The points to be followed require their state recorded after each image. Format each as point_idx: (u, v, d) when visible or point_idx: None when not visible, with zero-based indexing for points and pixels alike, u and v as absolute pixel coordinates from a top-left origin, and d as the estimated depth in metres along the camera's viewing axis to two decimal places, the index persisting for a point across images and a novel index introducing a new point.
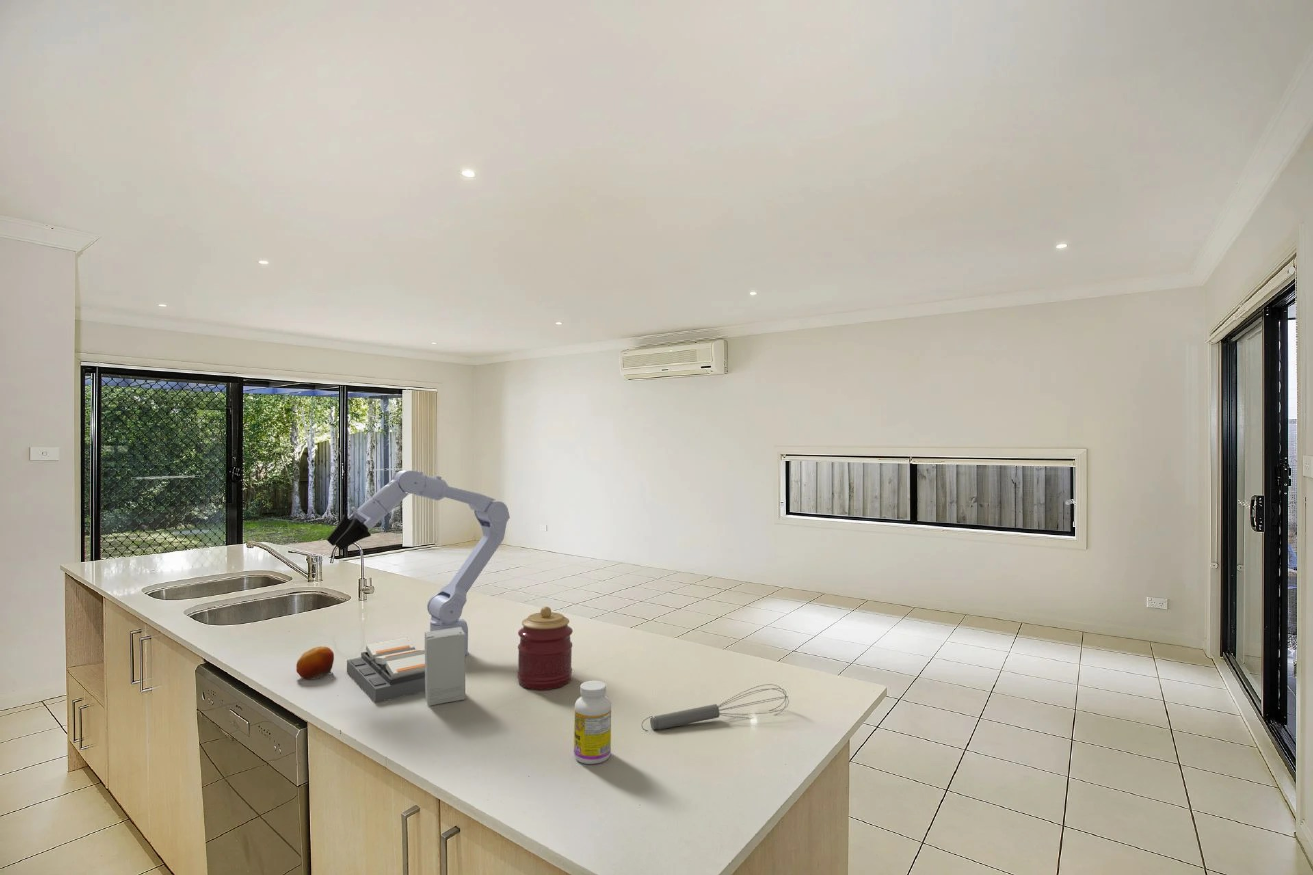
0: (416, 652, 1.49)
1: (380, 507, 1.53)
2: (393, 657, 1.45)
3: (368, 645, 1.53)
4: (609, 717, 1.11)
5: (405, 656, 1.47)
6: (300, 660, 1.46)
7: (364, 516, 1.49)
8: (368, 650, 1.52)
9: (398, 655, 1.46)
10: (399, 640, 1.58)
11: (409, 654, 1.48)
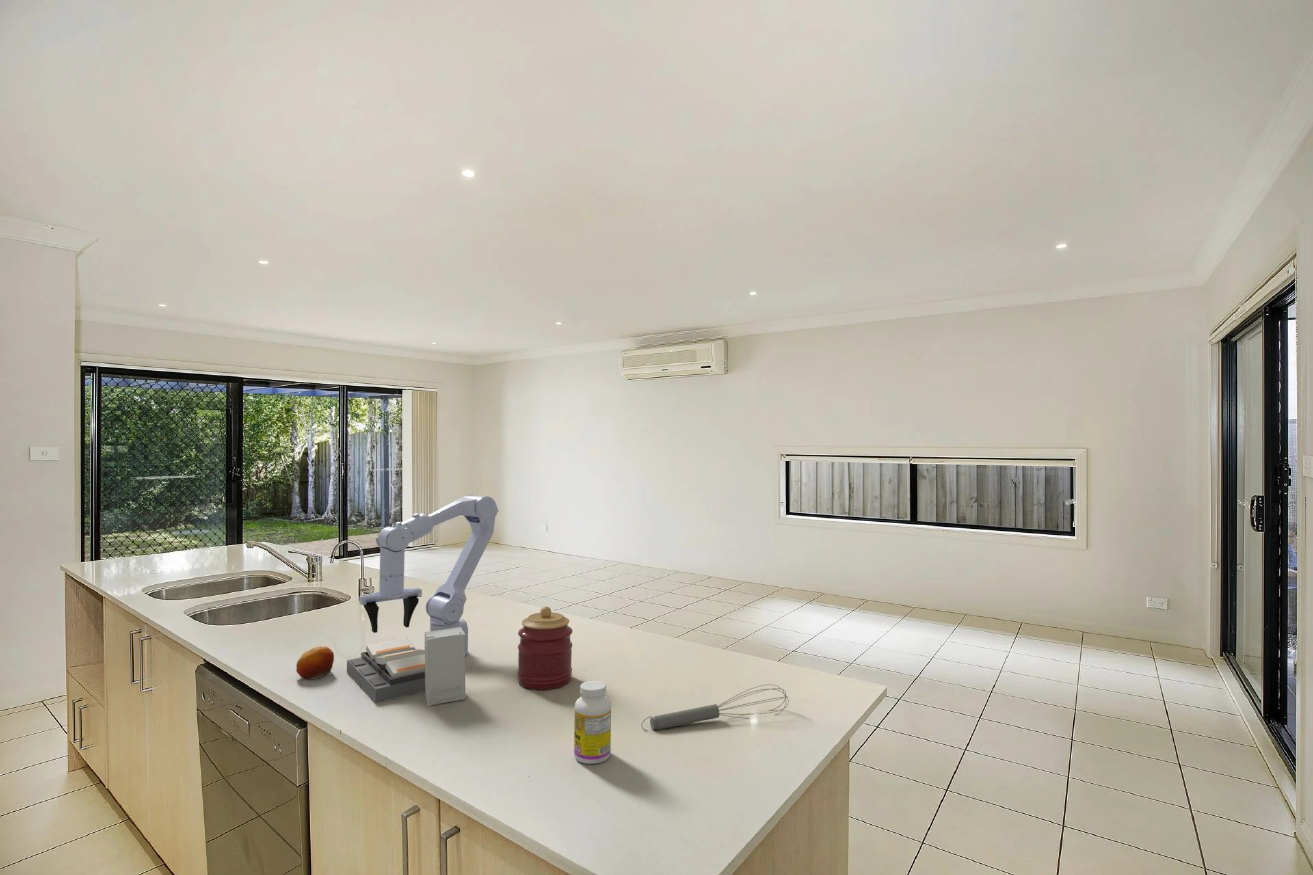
0: (416, 652, 1.49)
1: None
2: (393, 657, 1.45)
3: (368, 645, 1.53)
4: (609, 717, 1.11)
5: (405, 656, 1.47)
6: (300, 660, 1.46)
7: (411, 592, 1.57)
8: (368, 650, 1.52)
9: (398, 655, 1.46)
10: (399, 640, 1.58)
11: (409, 654, 1.48)
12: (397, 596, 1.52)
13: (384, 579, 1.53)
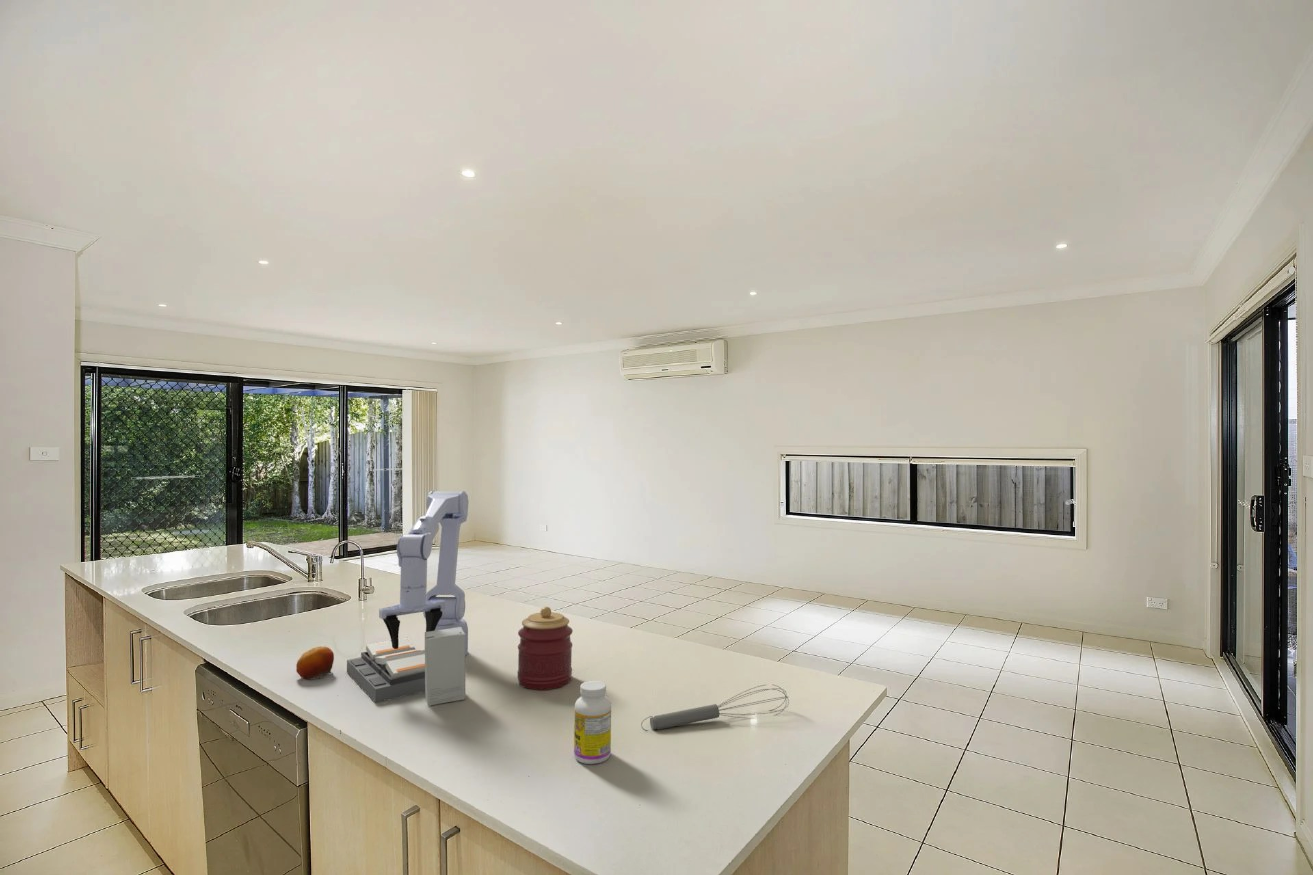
0: (416, 652, 1.49)
1: None
2: (393, 657, 1.45)
3: (368, 645, 1.53)
4: (609, 717, 1.11)
5: (405, 656, 1.47)
6: (300, 660, 1.46)
7: (435, 604, 1.45)
8: (368, 650, 1.52)
9: (398, 655, 1.46)
10: (399, 640, 1.58)
11: (409, 654, 1.48)
12: (420, 609, 1.40)
13: (405, 591, 1.40)
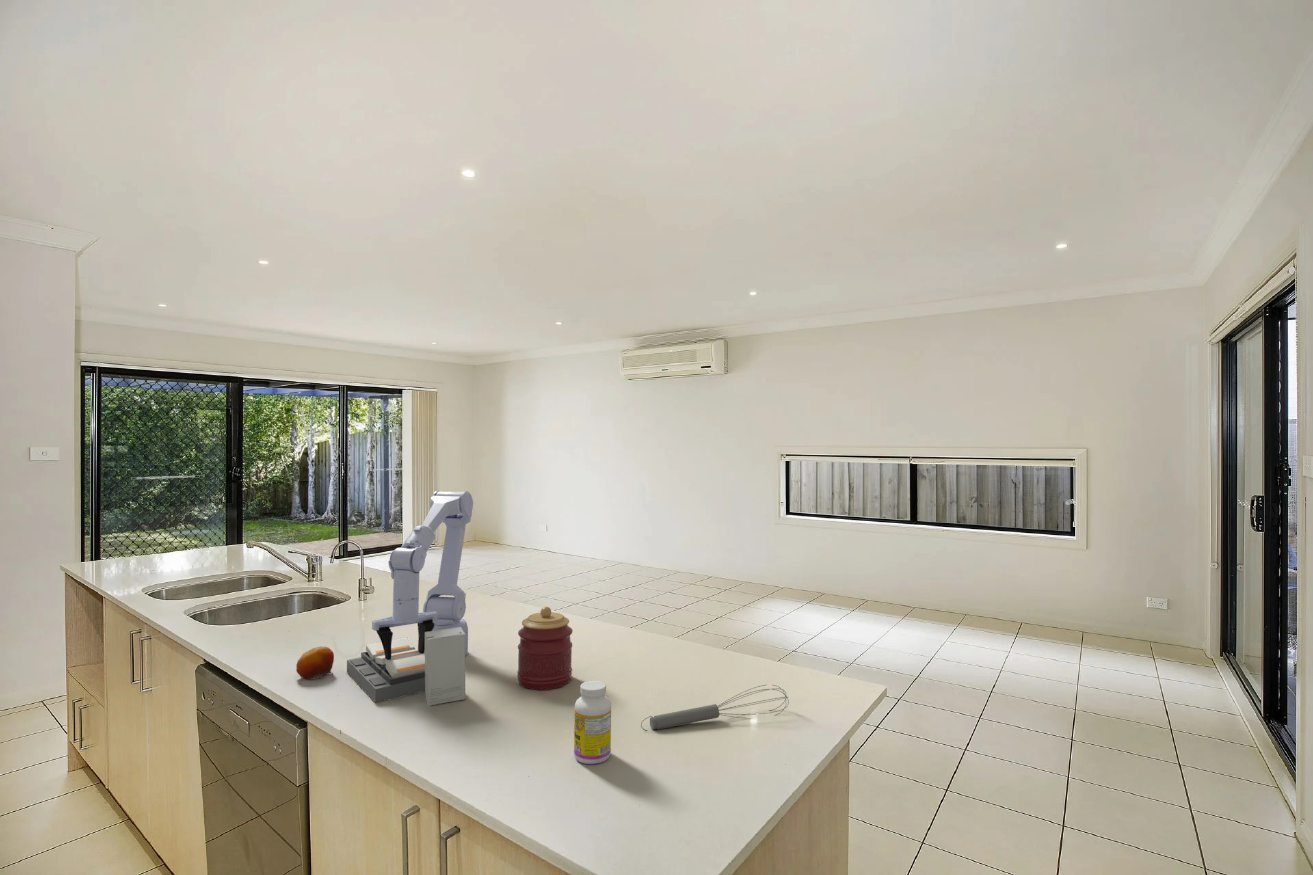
0: (416, 652, 1.49)
1: None
2: (393, 657, 1.45)
3: (368, 645, 1.53)
4: (609, 717, 1.11)
5: (405, 656, 1.47)
6: (300, 660, 1.46)
7: (426, 616, 1.48)
8: (368, 650, 1.52)
9: (398, 655, 1.46)
10: (399, 640, 1.58)
11: (409, 654, 1.48)
12: (412, 621, 1.44)
13: (398, 603, 1.44)
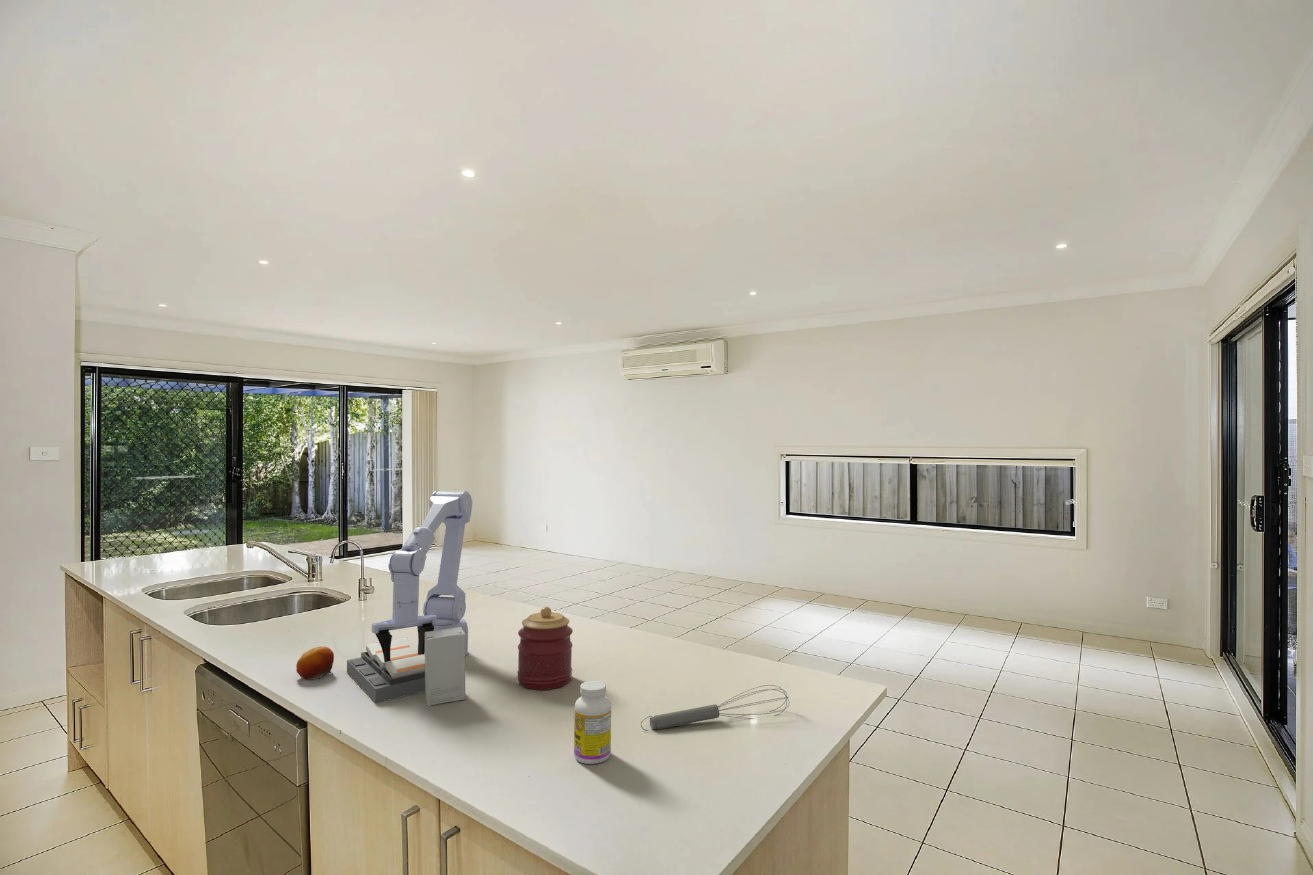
0: None
1: None
2: None
3: (368, 645, 1.53)
4: (609, 717, 1.11)
5: None
6: (300, 660, 1.46)
7: (426, 619, 1.48)
8: (368, 650, 1.52)
9: None
10: (399, 640, 1.58)
11: None
12: (411, 624, 1.44)
13: (398, 606, 1.44)
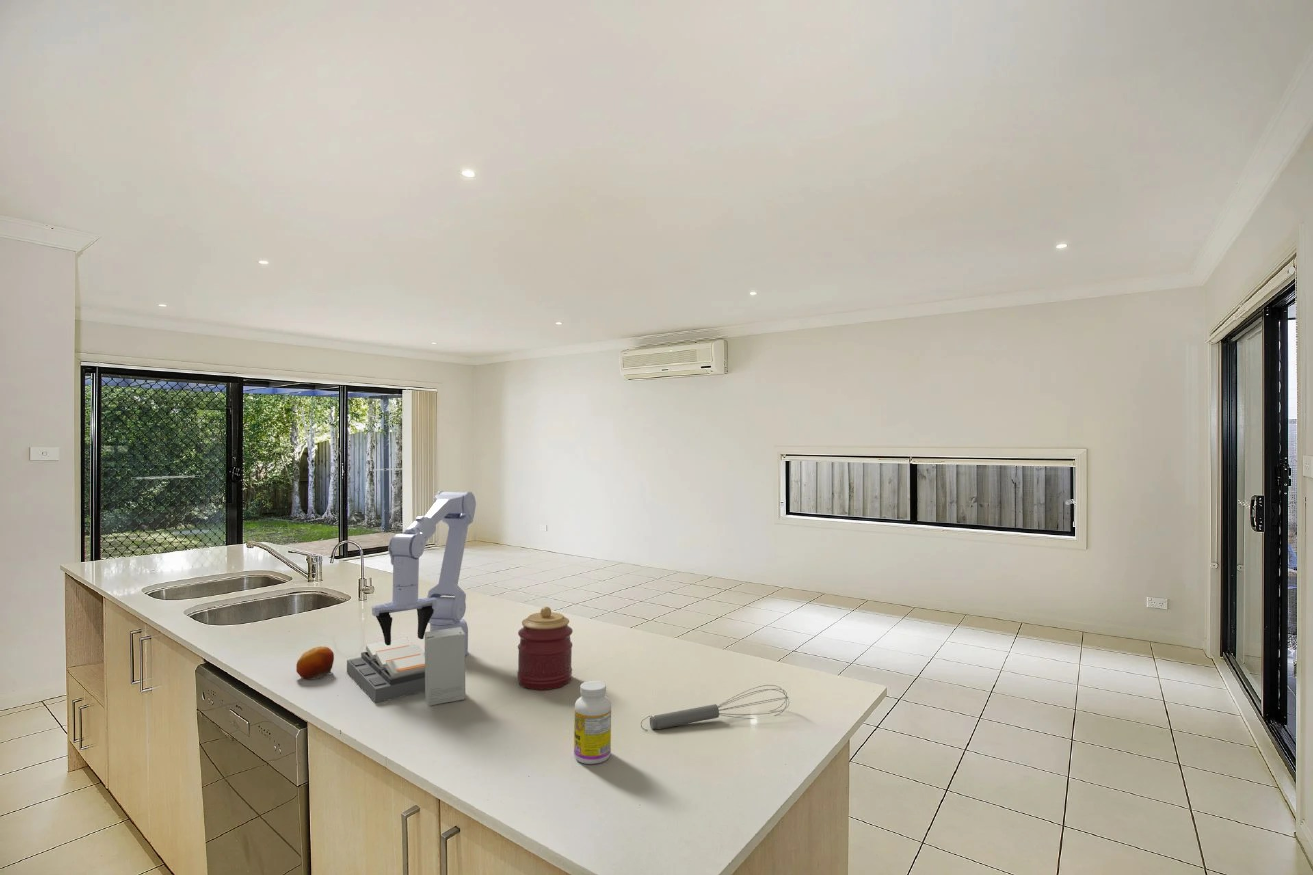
0: None
1: None
2: None
3: (368, 645, 1.53)
4: (609, 717, 1.11)
5: None
6: (300, 660, 1.46)
7: (426, 602, 1.49)
8: (368, 650, 1.52)
9: None
10: (399, 640, 1.58)
11: None
12: (411, 607, 1.44)
13: (398, 589, 1.45)
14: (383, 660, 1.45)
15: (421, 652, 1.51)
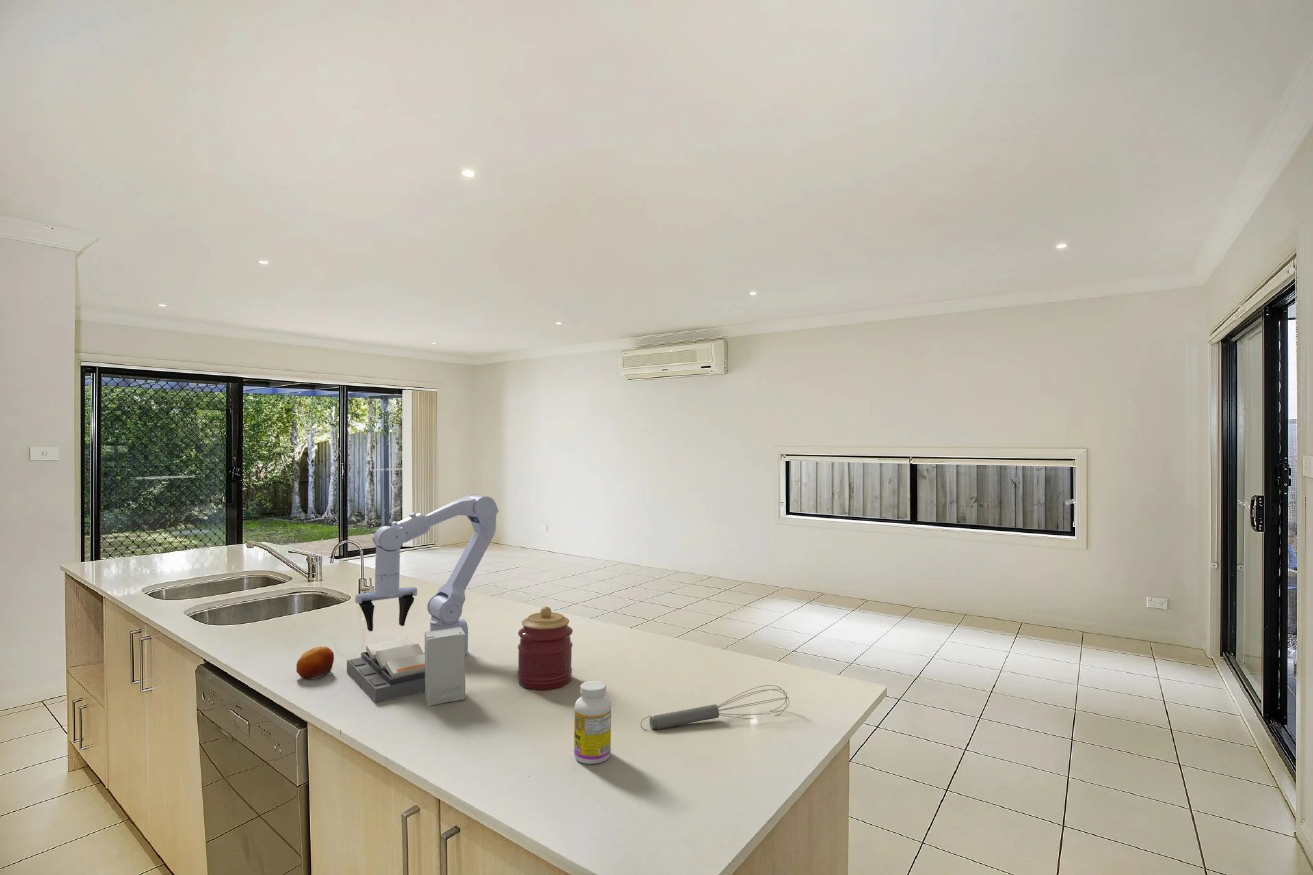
0: None
1: None
2: None
3: (368, 645, 1.53)
4: (609, 717, 1.11)
5: None
6: (300, 660, 1.46)
7: (407, 591, 1.58)
8: (368, 650, 1.52)
9: None
10: (399, 640, 1.58)
11: None
12: (392, 595, 1.54)
13: (379, 578, 1.54)
14: (383, 661, 1.45)
15: (421, 653, 1.51)
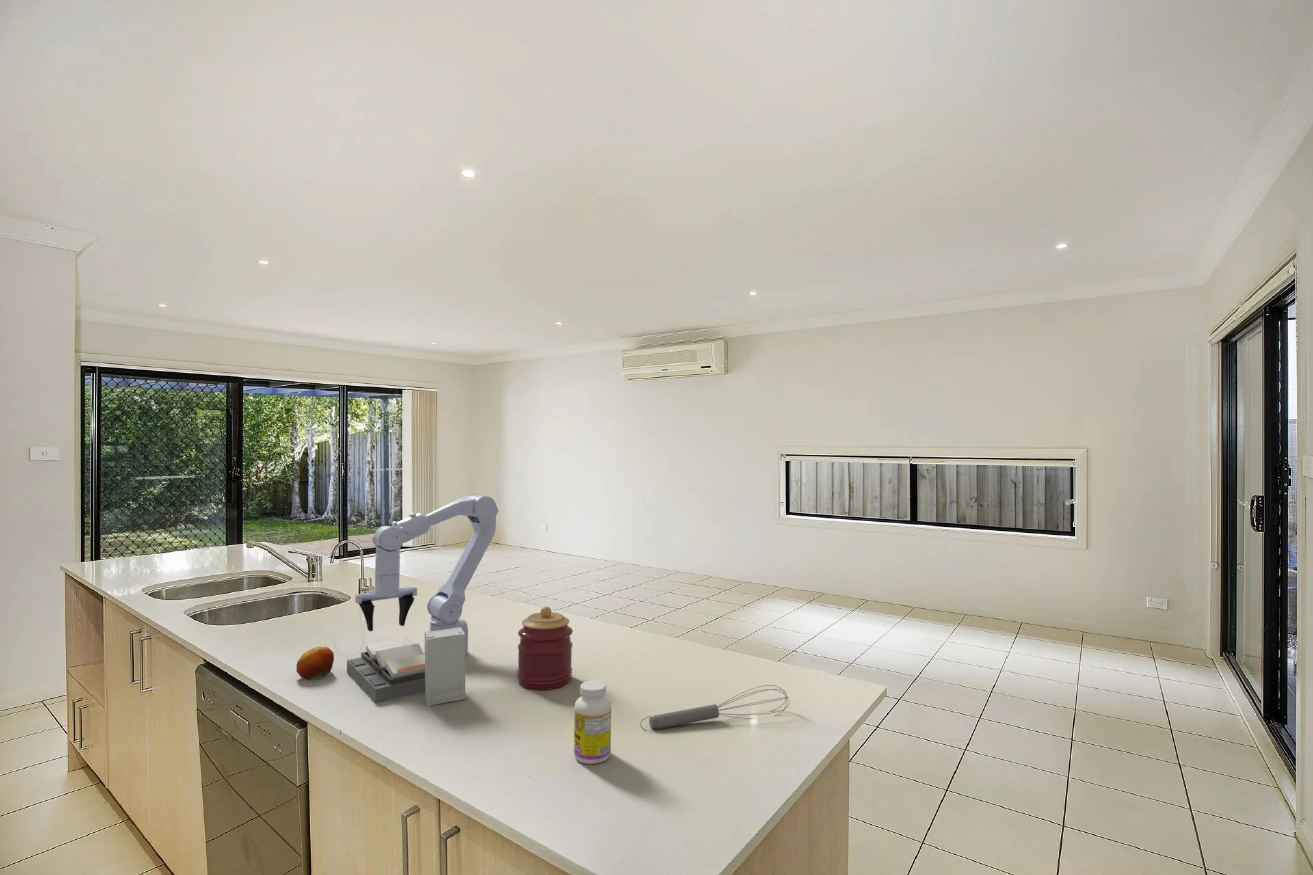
0: None
1: None
2: None
3: (368, 645, 1.53)
4: (609, 717, 1.11)
5: None
6: (300, 660, 1.46)
7: (407, 591, 1.58)
8: (368, 650, 1.52)
9: None
10: (399, 640, 1.58)
11: None
12: (392, 595, 1.54)
13: (379, 578, 1.54)
14: (383, 661, 1.45)
15: (421, 653, 1.51)
